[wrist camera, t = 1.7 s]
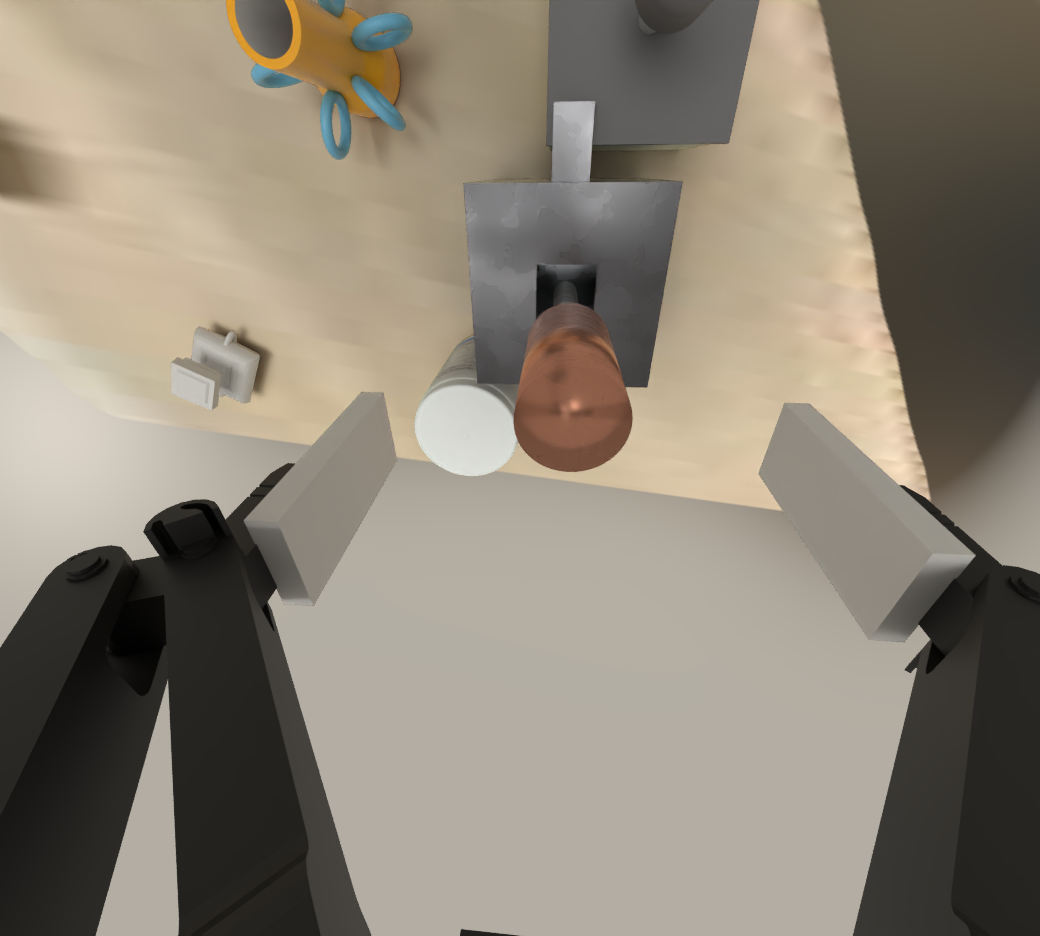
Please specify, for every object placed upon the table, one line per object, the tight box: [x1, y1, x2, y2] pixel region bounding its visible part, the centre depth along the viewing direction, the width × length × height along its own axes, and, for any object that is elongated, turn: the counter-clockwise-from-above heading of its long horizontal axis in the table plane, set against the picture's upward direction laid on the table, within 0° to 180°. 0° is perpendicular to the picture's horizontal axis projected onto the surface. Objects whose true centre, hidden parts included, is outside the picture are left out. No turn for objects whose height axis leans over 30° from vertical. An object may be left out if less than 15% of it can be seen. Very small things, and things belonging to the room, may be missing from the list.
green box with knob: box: [546, 0, 759, 151], centre depth 24 cm, size 11×11×24 cm
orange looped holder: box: [226, 0, 412, 160], centre depth 30 cm, size 12×10×15 cm
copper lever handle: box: [513, 281, 632, 472], centre depth 22 cm, size 4×4×19 cm
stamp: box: [171, 326, 260, 410], centre depth 48 cm, size 9×7×8 cm
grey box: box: [464, 101, 682, 387], centre depth 35 cm, size 17×13×16 cm
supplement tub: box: [415, 336, 519, 476], centre depth 44 cm, size 10×10×15 cm
